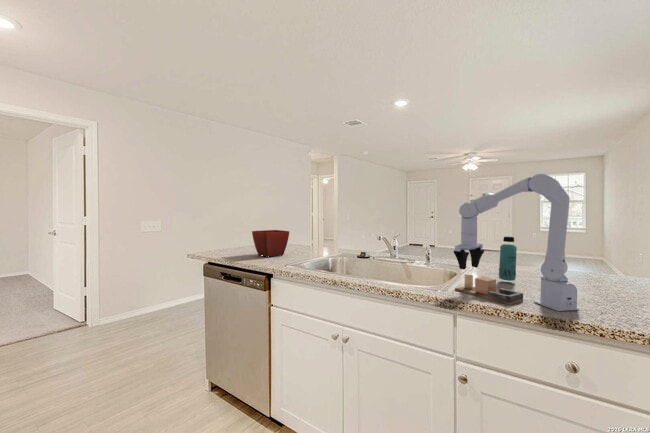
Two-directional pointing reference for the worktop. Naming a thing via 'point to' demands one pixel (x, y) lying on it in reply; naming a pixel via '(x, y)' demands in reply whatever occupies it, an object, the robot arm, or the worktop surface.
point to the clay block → (480, 284)
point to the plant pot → (270, 242)
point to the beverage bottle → (507, 260)
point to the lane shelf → (496, 295)
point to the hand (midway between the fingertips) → (468, 268)
